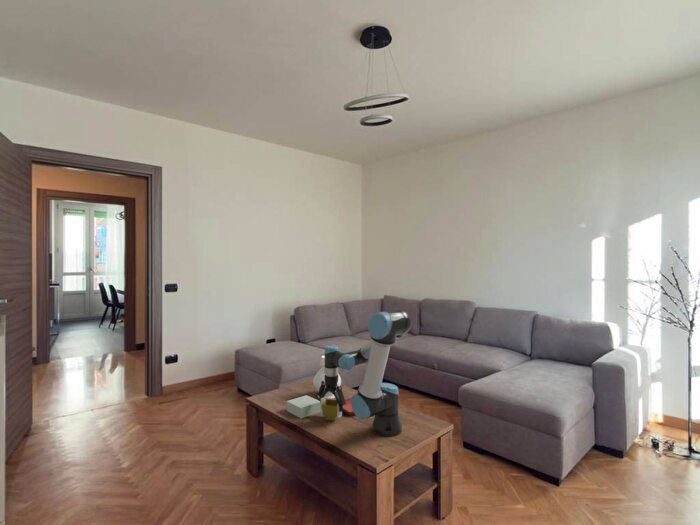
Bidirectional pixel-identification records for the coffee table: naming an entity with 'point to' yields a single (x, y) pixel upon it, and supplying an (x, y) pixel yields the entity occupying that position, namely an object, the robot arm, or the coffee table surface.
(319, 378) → the decorative vase
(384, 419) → the robot arm
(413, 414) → the coffee table surface
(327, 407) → the flower pot
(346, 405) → the plant saucer
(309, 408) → the sage block
